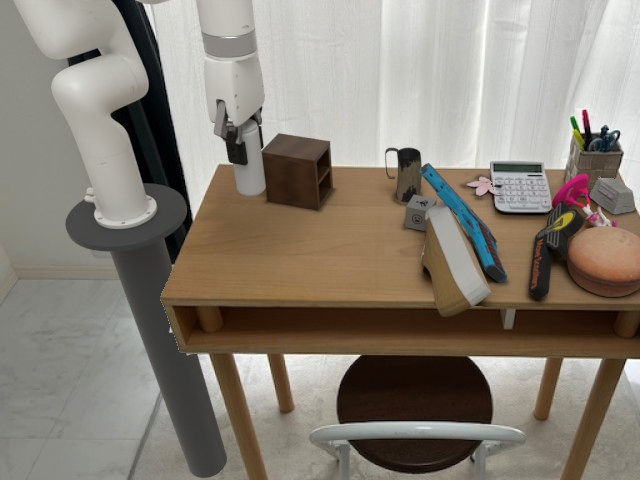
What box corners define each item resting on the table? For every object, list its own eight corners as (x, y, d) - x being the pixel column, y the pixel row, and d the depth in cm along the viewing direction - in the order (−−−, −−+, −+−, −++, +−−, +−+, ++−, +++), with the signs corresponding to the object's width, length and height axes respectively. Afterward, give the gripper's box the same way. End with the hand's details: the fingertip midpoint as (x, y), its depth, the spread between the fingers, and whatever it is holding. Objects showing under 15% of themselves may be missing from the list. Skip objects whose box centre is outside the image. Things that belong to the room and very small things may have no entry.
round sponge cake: (572, 210, 121) (562, 255, 126) (572, 246, 108) (561, 294, 113) (656, 221, 118) (642, 267, 124) (665, 260, 105) (650, 309, 111)
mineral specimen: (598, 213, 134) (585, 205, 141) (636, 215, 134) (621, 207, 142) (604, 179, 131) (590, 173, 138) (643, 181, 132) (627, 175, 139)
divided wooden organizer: (267, 201, 136) (260, 151, 128) (284, 181, 142) (278, 132, 134) (318, 210, 133) (314, 160, 125) (333, 189, 140) (330, 141, 132)
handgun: (499, 289, 116) (488, 242, 127) (511, 281, 114) (499, 235, 126) (421, 211, 104) (417, 168, 115) (434, 201, 103) (429, 158, 114)
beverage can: (235, 185, 106) (224, 120, 98) (263, 181, 108) (254, 116, 100) (240, 200, 103) (229, 133, 95) (268, 195, 104) (260, 129, 96)
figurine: (556, 186, 127) (606, 237, 121) (592, 166, 129) (643, 215, 123) (547, 214, 135) (593, 263, 129) (580, 195, 138) (627, 242, 132)
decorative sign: (537, 215, 131) (578, 190, 125) (543, 222, 132) (584, 198, 126) (528, 293, 111) (576, 267, 105) (535, 301, 112) (583, 276, 106)
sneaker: (439, 185, 122) (396, 211, 124) (475, 270, 100) (422, 300, 102) (461, 221, 128) (420, 245, 130) (500, 308, 106) (450, 336, 108)
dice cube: (428, 232, 128) (429, 211, 124) (405, 227, 129) (406, 206, 126) (435, 219, 131) (436, 199, 128) (413, 214, 133) (413, 194, 129)
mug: (420, 191, 140) (422, 142, 132) (421, 204, 136) (423, 155, 128) (385, 191, 140) (385, 142, 132) (385, 204, 136) (385, 155, 128)
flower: (494, 199, 135) (493, 205, 136) (517, 181, 141) (516, 187, 142) (457, 184, 139) (456, 190, 141) (481, 167, 146) (480, 173, 147)
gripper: (234, 19, 96) (249, 129, 108) (174, 58, 83) (199, 176, 96) (279, 26, 94) (289, 136, 106) (224, 66, 82) (243, 185, 94)
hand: (246, 154), depth 101 cm, fingers closed on beverage can, 4 cm apart
